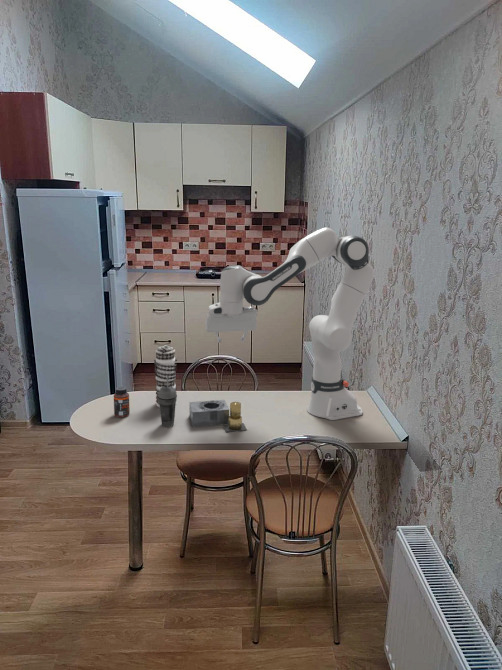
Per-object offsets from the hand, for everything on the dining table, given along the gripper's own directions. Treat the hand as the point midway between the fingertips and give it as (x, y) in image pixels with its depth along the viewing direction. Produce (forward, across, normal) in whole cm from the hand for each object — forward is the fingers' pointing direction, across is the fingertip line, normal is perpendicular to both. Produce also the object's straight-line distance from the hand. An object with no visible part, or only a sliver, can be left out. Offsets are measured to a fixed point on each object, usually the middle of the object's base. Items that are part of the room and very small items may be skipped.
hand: (230, 341), depth 206 cm
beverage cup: (+29, +26, +9) cm, 40 cm away
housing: (+29, +10, +8) cm, 32 cm away
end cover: (+29, +1, +17) cm, 33 cm away
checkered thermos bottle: (+29, +25, -11) cm, 40 cm away
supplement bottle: (+29, +43, -3) cm, 52 cm away
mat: (+29, +1, +17) cm, 34 cm away
